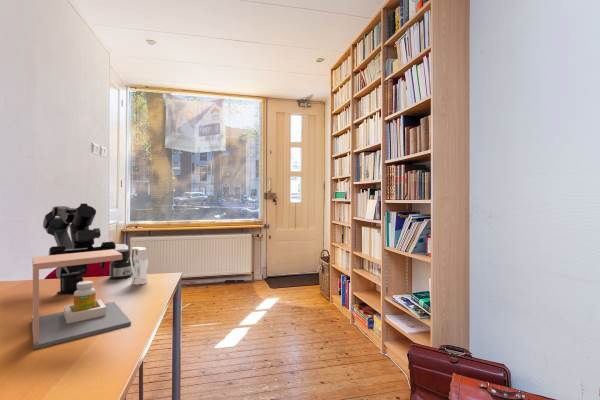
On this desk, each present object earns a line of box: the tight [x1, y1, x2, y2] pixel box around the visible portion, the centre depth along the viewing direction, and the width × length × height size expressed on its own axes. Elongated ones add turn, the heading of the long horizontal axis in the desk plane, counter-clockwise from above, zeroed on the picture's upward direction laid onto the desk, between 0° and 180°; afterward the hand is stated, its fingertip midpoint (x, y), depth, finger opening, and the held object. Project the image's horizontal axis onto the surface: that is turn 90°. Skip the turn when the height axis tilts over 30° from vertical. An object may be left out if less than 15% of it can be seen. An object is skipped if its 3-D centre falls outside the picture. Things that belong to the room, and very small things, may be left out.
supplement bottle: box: [73, 280, 97, 312], centre depth 92 cm, size 5×5×10 cm
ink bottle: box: [109, 248, 133, 280], centre depth 139 cm, size 10×9×12 cm
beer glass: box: [129, 246, 150, 286], centre depth 129 cm, size 7×7×15 cm
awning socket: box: [31, 249, 132, 350], centre depth 88 cm, size 22×21×20 cm
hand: (87, 271), depth 102 cm, fingers open, 9 cm apart
